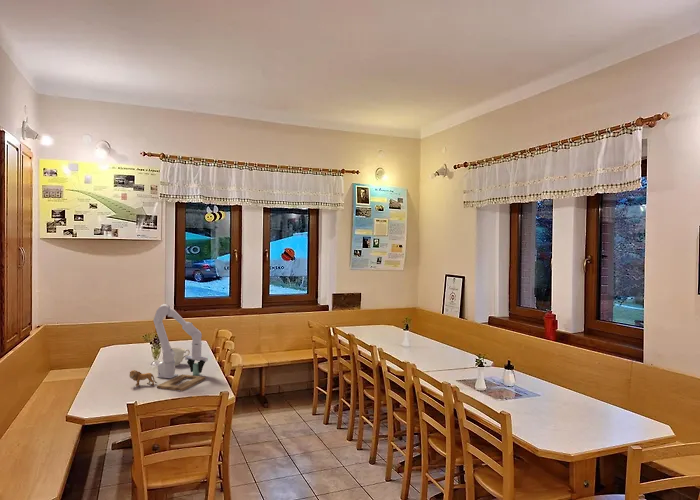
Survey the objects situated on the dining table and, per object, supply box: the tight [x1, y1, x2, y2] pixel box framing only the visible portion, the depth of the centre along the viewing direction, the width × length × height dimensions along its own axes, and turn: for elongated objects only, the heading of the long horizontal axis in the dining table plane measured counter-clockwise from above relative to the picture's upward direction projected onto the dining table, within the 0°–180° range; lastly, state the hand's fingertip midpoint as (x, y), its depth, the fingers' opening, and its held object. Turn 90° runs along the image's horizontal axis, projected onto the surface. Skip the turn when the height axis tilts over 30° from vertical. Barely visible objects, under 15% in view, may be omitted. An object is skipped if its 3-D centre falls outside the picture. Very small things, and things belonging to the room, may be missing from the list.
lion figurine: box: [129, 369, 158, 387], centre depth 280 cm, size 15×5×9 cm, turn 115°
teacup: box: [171, 347, 191, 367], centre depth 326 cm, size 12×15×10 cm
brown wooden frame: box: [156, 374, 206, 392], centre depth 285 cm, size 16×24×2 cm, turn 166°
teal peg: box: [192, 362, 201, 376], centre depth 302 cm, size 4×4×7 cm
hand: (196, 372), depth 302 cm, fingers open, 5 cm apart
